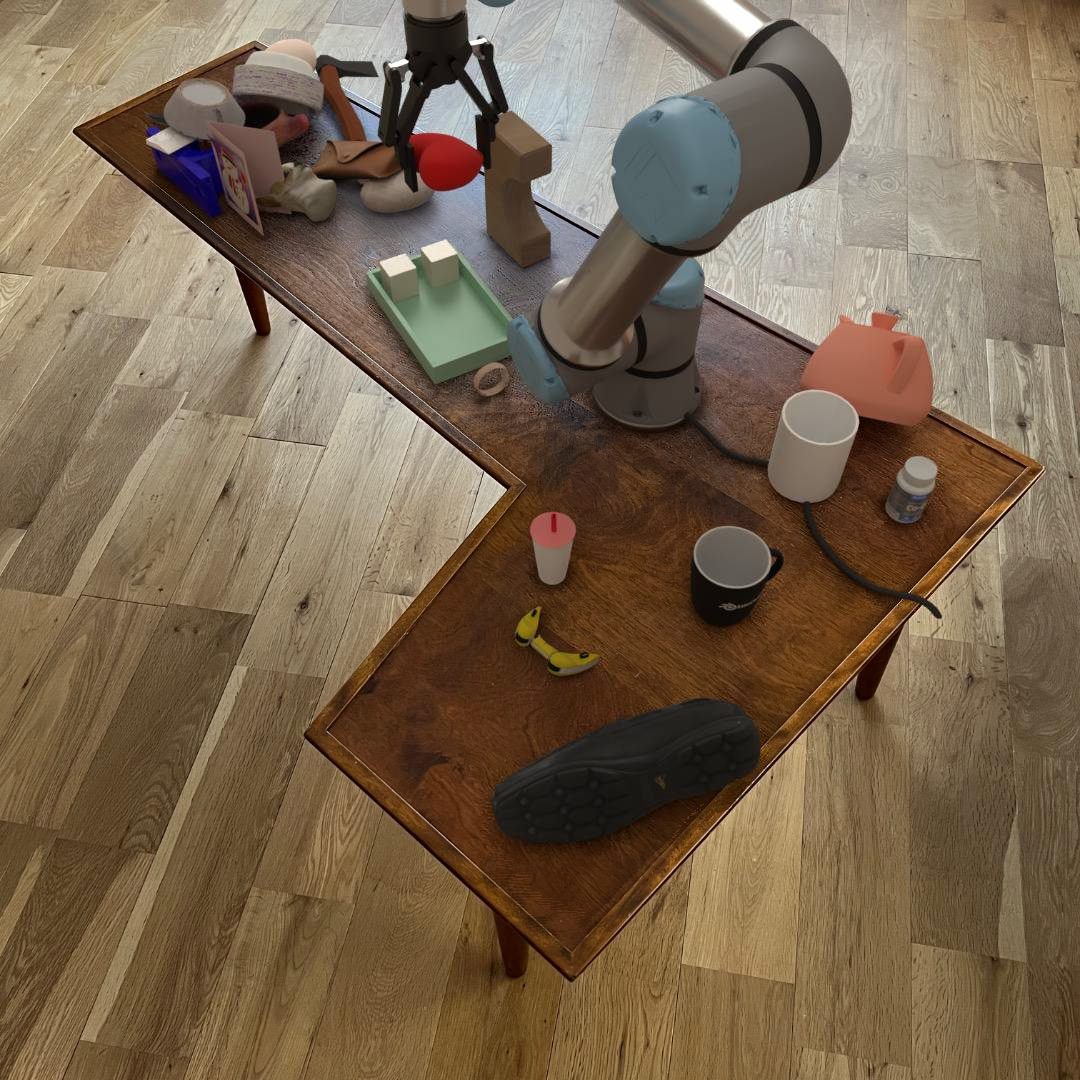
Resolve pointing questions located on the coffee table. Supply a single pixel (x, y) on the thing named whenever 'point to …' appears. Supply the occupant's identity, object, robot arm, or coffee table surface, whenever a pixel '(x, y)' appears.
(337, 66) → the hand axe
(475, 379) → the beige ring band
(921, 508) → the pill bottle
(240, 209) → the greeting card
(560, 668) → the yellow curved segmented toy
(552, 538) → the cup
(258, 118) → the bowl
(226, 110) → the bowl
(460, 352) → the ornament tray
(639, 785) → the loafer
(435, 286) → the cream block
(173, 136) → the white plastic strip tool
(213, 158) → the mounting bracket
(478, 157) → the heart
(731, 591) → the mug
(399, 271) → the beige short block
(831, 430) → the mug
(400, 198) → the decorative stone
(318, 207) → the ceramic sculpture
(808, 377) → the teapot
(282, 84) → the paper bowls
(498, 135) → the decorative block
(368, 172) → the sunglasses case
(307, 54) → the egg
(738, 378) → the coffee table surface
